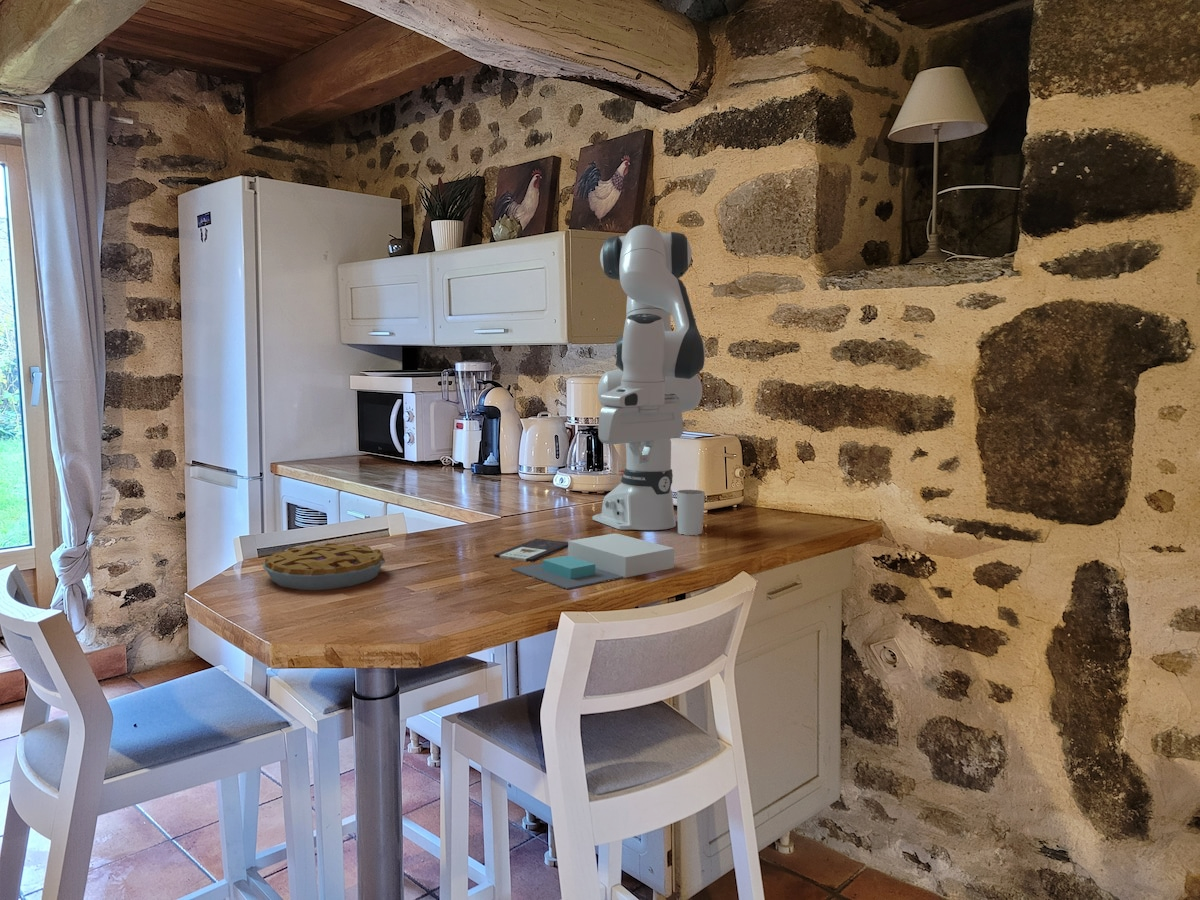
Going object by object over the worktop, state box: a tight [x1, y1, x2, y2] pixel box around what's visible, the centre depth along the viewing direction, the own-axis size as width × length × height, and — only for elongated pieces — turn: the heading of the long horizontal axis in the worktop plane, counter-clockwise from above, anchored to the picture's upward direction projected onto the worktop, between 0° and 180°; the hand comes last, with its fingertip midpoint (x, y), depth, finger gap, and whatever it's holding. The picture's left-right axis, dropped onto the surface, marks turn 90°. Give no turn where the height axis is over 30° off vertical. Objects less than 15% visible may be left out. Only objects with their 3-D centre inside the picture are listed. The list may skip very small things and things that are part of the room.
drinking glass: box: [676, 489, 706, 536], centre depth 210 cm, size 7×7×10 cm
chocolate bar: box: [493, 538, 568, 563], centre depth 190 cm, size 9×1×18 cm
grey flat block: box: [567, 533, 675, 578], centre depth 179 cm, size 18×13×4 cm
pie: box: [262, 542, 386, 591], centre depth 166 cm, size 22×22×5 cm
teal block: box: [542, 555, 595, 579], centre depth 171 cm, size 9×6×2 cm, turn 40°
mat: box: [511, 562, 624, 590], centre depth 171 cm, size 18×14×1 cm
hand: (641, 462), depth 179 cm, fingers closed
